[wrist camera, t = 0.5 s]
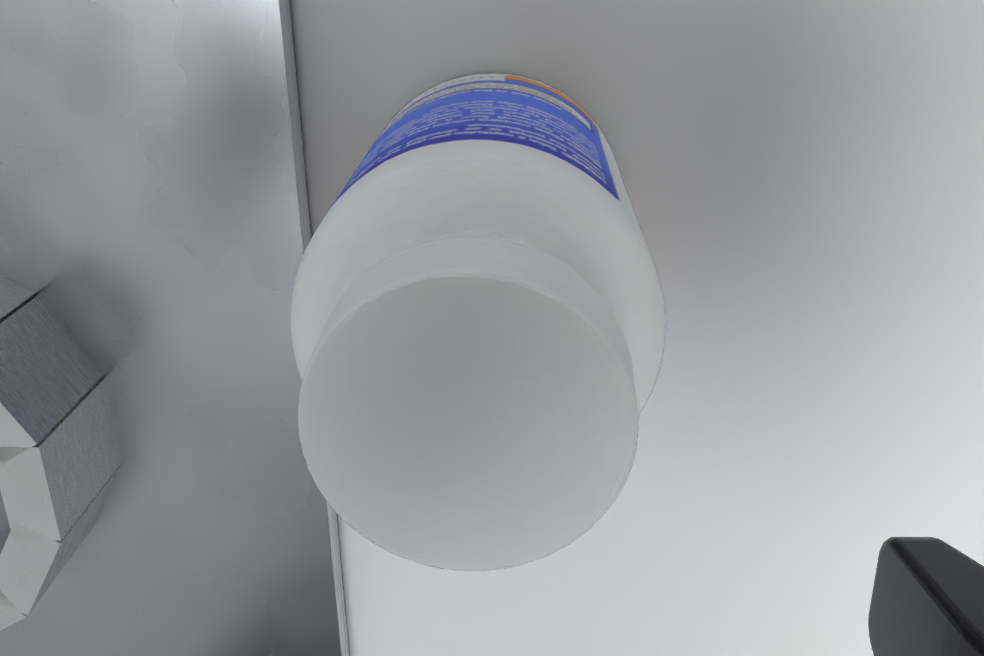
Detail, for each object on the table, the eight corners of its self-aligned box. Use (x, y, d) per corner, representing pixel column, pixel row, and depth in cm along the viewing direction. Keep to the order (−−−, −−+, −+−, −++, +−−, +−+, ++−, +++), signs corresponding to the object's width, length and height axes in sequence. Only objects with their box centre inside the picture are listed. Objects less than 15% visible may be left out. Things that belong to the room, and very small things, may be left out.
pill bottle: (316, 160, 19) (125, 364, 10) (537, 13, 18) (534, 105, 9) (460, 360, 21) (401, 682, 12) (671, 240, 20) (780, 505, 11)
